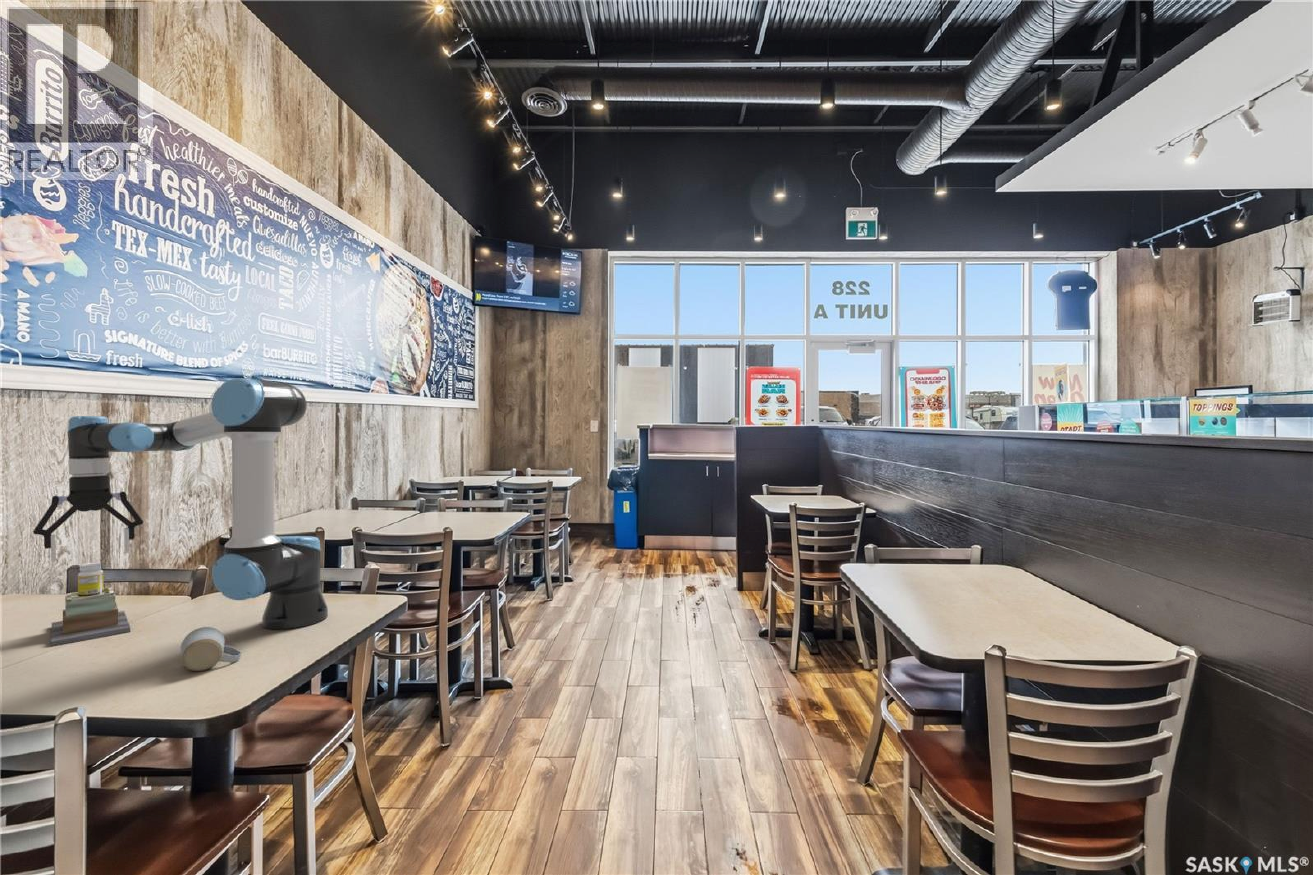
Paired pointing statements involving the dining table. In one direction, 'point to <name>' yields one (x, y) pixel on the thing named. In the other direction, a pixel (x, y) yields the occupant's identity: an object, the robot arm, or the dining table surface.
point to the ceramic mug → (206, 649)
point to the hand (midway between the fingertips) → (91, 556)
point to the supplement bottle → (90, 580)
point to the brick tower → (89, 618)
